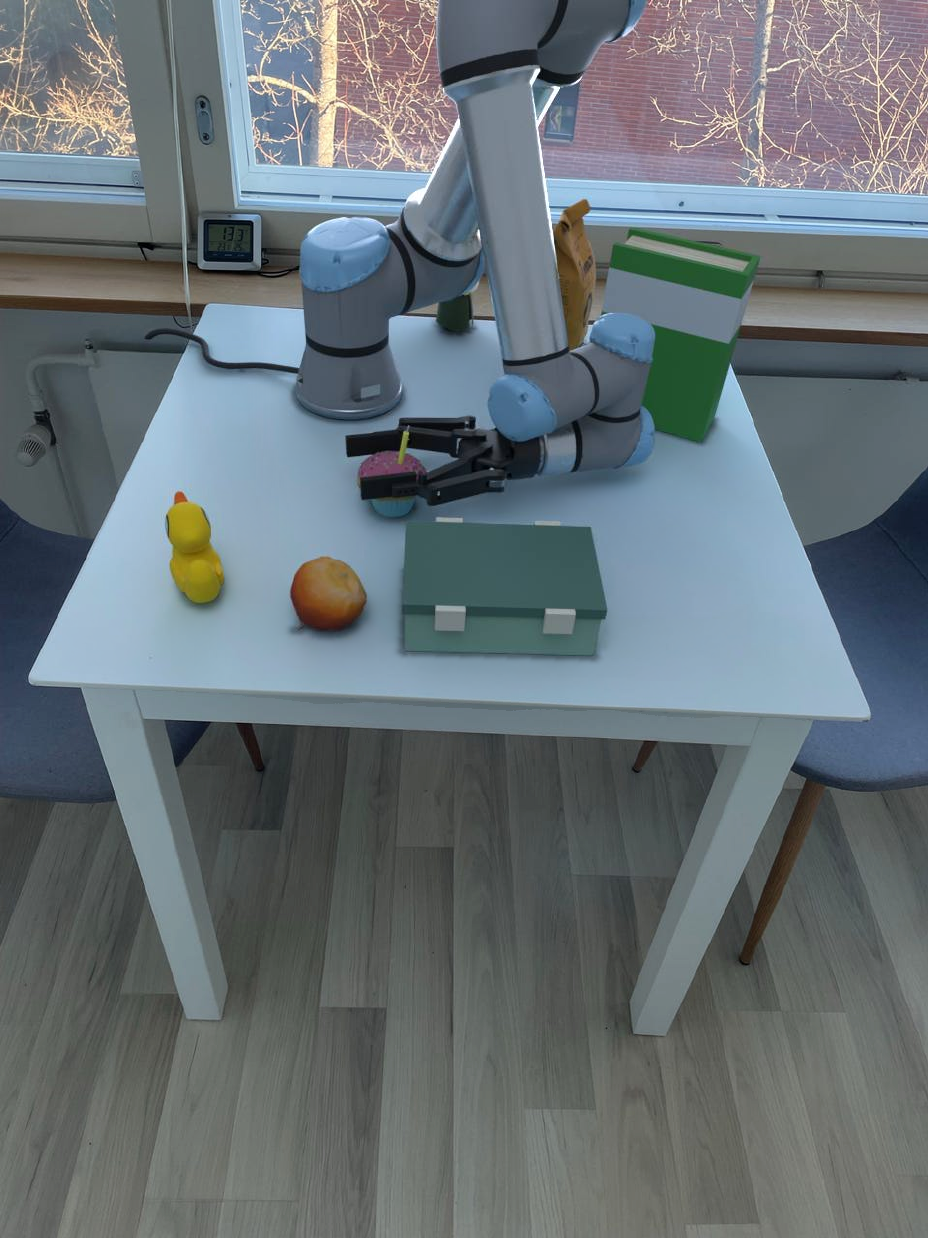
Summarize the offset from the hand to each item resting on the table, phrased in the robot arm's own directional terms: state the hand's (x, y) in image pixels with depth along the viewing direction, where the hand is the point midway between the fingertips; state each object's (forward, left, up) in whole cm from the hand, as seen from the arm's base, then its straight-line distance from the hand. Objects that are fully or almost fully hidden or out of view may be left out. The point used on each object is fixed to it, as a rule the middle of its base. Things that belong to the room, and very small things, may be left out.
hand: (353, 467), depth 105 cm
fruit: (+8, -17, -7) cm, 20 cm away
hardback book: (+23, +43, -7) cm, 50 cm away
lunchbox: (+23, -7, -7) cm, 25 cm away
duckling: (-7, -21, -7) cm, 23 cm away
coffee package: (+2, +54, -7) cm, 55 cm away
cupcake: (+3, +3, -7) cm, 8 cm away
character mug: (-15, +52, -7) cm, 54 cm away
